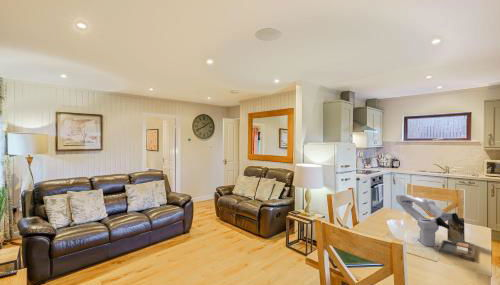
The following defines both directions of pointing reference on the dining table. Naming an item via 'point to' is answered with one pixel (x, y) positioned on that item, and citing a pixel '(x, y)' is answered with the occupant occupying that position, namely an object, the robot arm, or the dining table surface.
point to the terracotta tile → (463, 245)
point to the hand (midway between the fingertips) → (455, 226)
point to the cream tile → (462, 250)
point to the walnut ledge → (468, 256)
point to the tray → (447, 247)
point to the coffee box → (456, 231)
